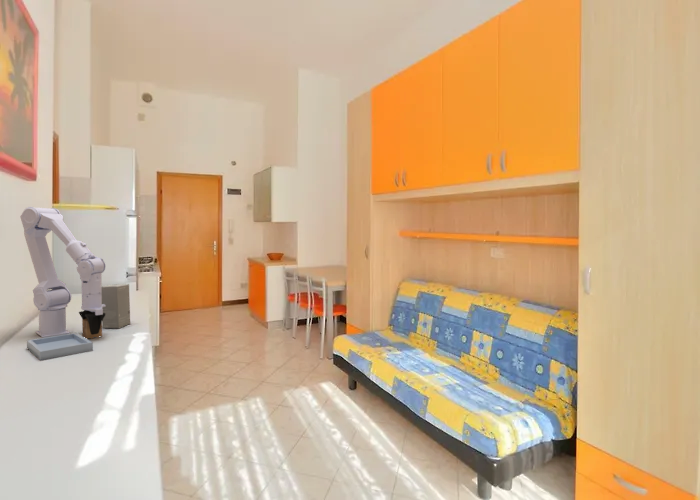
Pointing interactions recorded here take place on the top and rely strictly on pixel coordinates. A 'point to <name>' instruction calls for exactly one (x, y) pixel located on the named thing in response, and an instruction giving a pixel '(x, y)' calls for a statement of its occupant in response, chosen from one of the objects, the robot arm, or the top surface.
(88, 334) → the walnut block
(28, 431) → the top surface
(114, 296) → the skincare box
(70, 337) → the tray
